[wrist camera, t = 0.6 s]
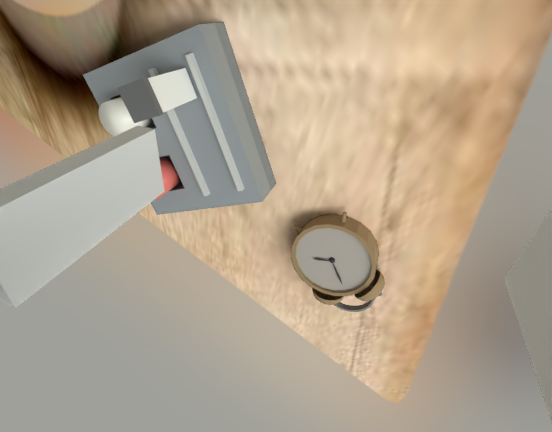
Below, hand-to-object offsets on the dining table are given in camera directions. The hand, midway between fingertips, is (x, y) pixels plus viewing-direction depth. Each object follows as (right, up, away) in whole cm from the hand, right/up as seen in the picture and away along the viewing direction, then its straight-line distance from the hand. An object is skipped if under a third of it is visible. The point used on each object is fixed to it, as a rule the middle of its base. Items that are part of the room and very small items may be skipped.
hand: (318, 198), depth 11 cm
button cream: (-18, +12, +27) cm, 35 cm away
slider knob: (-12, +13, +22) cm, 28 cm away
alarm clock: (+8, -6, +34) cm, 36 cm away
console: (-12, +11, +31) cm, 35 cm away
